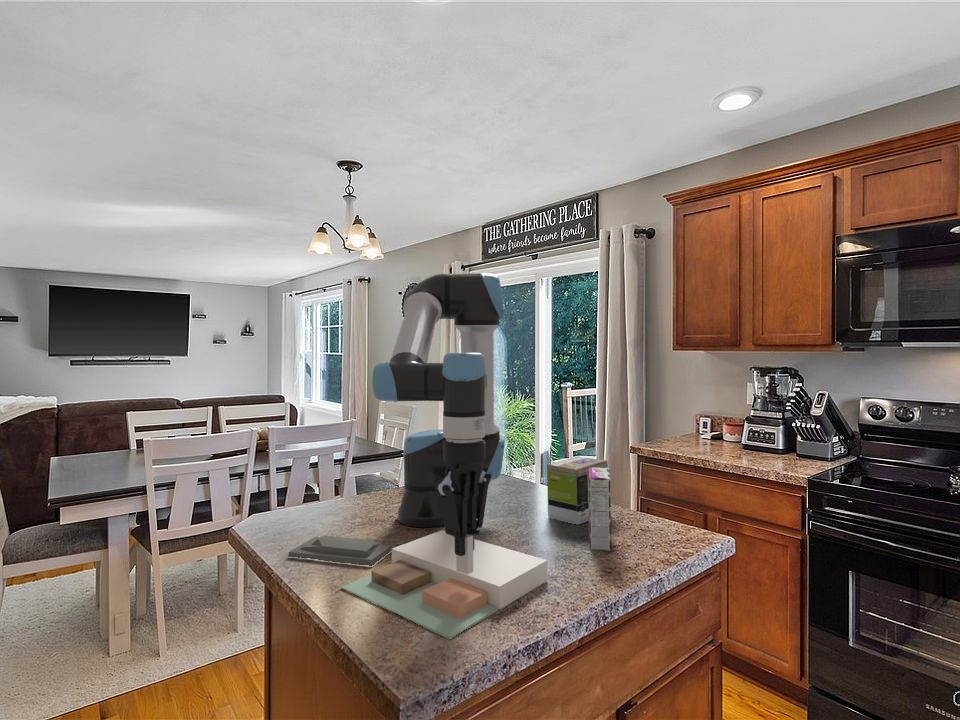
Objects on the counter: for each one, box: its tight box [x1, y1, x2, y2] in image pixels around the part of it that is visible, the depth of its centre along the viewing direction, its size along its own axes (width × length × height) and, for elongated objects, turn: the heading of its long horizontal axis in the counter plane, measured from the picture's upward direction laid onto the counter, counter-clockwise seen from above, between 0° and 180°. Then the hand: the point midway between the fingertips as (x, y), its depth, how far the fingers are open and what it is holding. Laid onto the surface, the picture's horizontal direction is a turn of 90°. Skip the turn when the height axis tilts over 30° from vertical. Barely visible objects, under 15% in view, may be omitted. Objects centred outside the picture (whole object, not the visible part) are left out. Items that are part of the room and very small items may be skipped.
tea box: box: [546, 456, 609, 526], centre depth 144 cm, size 15×10×15 cm, turn 134°
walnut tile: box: [371, 560, 431, 595], centre depth 102 cm, size 9×7×2 cm
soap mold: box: [287, 535, 393, 566], centre depth 117 cm, size 10×20×4 cm, turn 73°
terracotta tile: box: [422, 578, 487, 619], centre depth 93 cm, size 9×7×2 cm
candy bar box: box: [588, 467, 612, 552], centre depth 124 cm, size 11×5×16 cm, turn 168°
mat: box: [340, 573, 499, 640], centre depth 96 cm, size 28×12×1 cm, turn 50°
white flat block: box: [391, 529, 548, 611], centre depth 106 cm, size 28×15×4 cm, turn 50°
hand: (464, 571), depth 95 cm, fingers closed
